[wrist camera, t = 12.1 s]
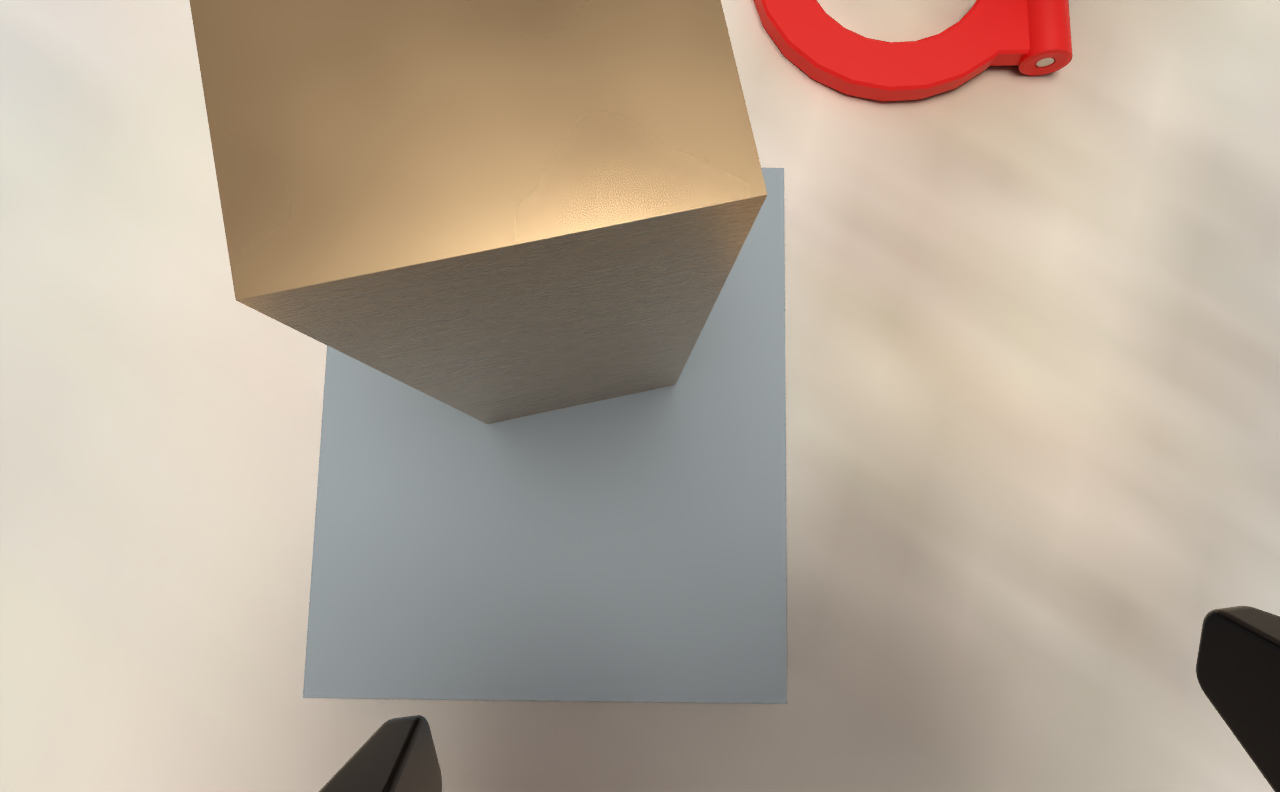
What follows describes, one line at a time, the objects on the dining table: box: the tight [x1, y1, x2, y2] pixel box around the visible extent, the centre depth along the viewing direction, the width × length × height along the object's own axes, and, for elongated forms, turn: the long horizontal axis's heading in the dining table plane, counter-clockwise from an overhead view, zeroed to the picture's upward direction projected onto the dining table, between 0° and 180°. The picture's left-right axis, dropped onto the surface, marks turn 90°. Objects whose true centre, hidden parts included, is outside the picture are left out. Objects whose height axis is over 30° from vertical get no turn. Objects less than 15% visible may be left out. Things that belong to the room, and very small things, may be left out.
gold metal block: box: [190, 0, 767, 424], centre depth 14 cm, size 5×5×13 cm
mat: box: [303, 168, 787, 704], centre depth 21 cm, size 14×12×2 cm
